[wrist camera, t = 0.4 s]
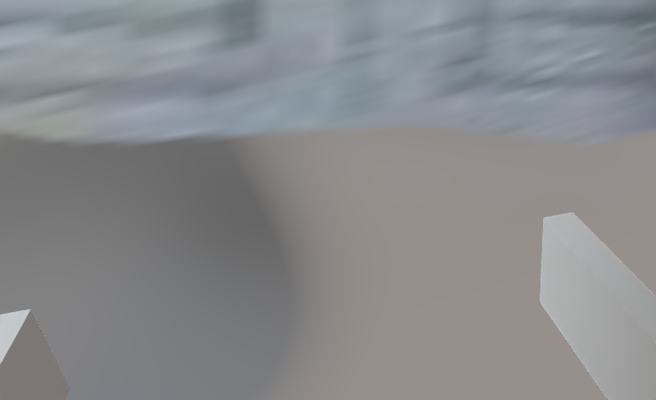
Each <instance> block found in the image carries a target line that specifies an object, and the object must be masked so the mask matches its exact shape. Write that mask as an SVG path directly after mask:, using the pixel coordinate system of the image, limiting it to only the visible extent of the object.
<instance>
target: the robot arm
mask: <svg viewBox="0 0 656 400" xmlns="http://www.w3.org/2000/svg"><path fill="white" fill-rule="evenodd" d="M541 263H542V264H541V283H540V303H541V305H542V306H543V308H544V309H545V310H546V312H547V313H548V315H549V316H550V318H551V319H552V321H553V322H554V323H555V325H556V326H557V328H558V329H559V331H560V332H561V333H562V335H563V336H564V338H565V339H566V341H567V342H568V343H569V345H570V347H571V348H572V349H573V351H574V352H575V353H576V355H577V357H578V358H579V359H580V361H581V362H582V364H583V365H584V367H585V368H586V370H587V371H588V372H589V374H590V375H591V377H592V378H593V380H594V381H595V382H596V384H597V385H598V387H599V388H600V390H601V391H602V392H603V394H604V396H605V397H606V398H607V400H656V296H655V294H654V293H652V291H651V290H650V289H649V288H647V287H646V285H645V284H643V283H642V282H641V280H640V279H638V277H636V275H634V273H633V272H632V271H631V270H630V269H629V268H627V266H626V265H625V264H624V263H623V262H621V261H620V259H618V257H617V256H616V255H615V254H614V253H613V252H612V251H611V250H610V249H609V248H608V247H607V246H606V245H605V244H604V243H603V242H602V241H601V240H600V239H599V238H598V237H597V236H596V235H595V234H594V233H593V232H592V231H591V230H590V229H589V228H588V227H587V226H586V225H585V224H584V223H583V222H582V221H581V220H580V219H579V218H578V217H577V216H576V215H575V214H573V212H572V213H566V214H560V215H555V216H549V217H544V219H543V240H542V261H541ZM69 390H70V386H69V384H68V382H67V380H66V378H65V376H64V374H63V372H62V370H61V368H60V367H59V364H58V362H57V360H56V358H55V356H54V354H53V352H52V351H51V348H50V346H49V344H48V342H47V340H46V338H45V337H44V334H43V332H42V330H41V328H40V327H39V324H38V322H37V320H36V318H35V316H34V314H33V312H32V310H31V309H29V310H23V311H18V312H13V313H7V314H1V315H0V400H66V397H67V395H68V392H69Z"/></svg>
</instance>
